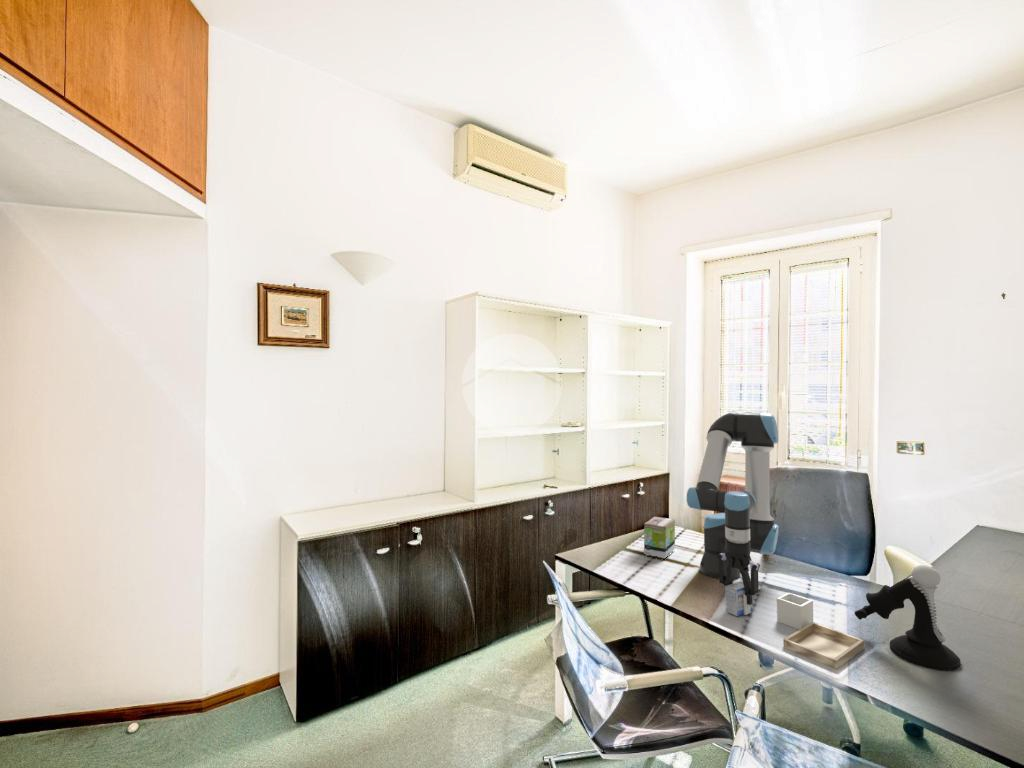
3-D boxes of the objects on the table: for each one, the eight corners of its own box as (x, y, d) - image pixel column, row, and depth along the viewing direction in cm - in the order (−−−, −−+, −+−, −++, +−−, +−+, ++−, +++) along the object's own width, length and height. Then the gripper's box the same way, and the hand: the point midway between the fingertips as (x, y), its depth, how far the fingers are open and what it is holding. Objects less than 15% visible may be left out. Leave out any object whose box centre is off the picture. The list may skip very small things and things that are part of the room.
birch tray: (783, 649, 140) (783, 639, 140) (812, 631, 150) (812, 621, 150) (836, 672, 129) (836, 660, 129) (864, 650, 139) (864, 640, 139)
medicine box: (736, 617, 158) (736, 590, 158) (725, 611, 162) (724, 585, 162) (752, 611, 162) (752, 585, 161) (740, 605, 165) (740, 580, 165)
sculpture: (955, 678, 125) (954, 580, 126) (847, 642, 143) (846, 557, 143) (964, 656, 135) (962, 565, 136) (862, 625, 153) (860, 545, 153)
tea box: (666, 560, 212) (665, 526, 213) (643, 556, 218) (643, 523, 218) (675, 550, 225) (675, 518, 225) (653, 547, 230) (653, 515, 231)
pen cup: (777, 623, 155) (776, 598, 155) (788, 617, 159) (788, 592, 159) (801, 633, 149) (801, 606, 149) (813, 626, 153) (812, 600, 153)
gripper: (706, 535, 167) (707, 603, 167) (758, 549, 152) (759, 624, 152) (719, 531, 171) (720, 597, 171) (770, 544, 156) (772, 617, 156)
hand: (739, 610), depth 162 cm, fingers closed on medicine box, 5 cm apart
